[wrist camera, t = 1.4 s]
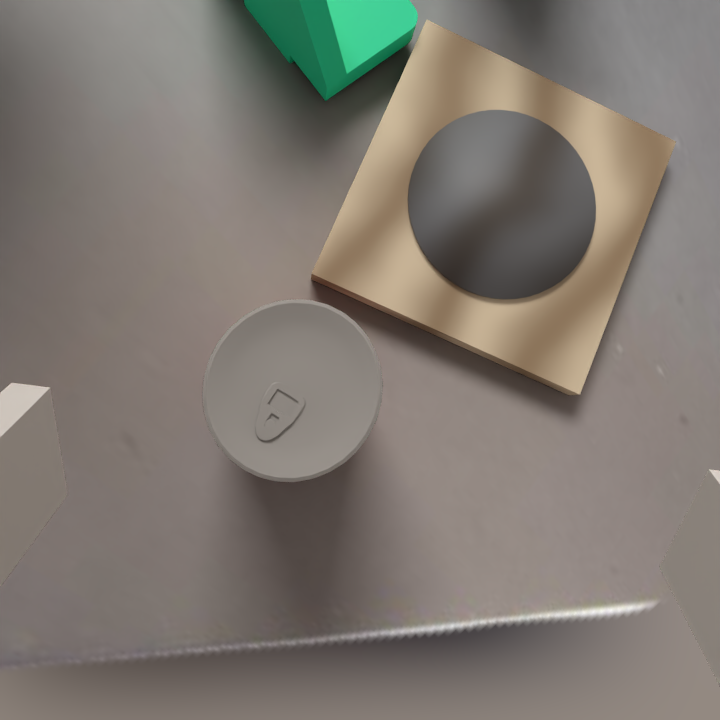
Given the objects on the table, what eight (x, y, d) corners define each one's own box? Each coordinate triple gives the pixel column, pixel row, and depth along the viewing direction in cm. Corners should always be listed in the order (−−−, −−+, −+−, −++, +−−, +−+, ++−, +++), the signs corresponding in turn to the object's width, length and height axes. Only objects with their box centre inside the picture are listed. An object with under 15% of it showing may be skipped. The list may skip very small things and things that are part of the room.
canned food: (213, 442, 35) (175, 456, 24) (252, 315, 36) (234, 273, 25) (336, 476, 35) (354, 506, 24) (372, 351, 36) (405, 325, 25)
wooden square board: (310, 279, 36) (311, 272, 34) (421, 34, 38) (427, 16, 37) (568, 395, 37) (582, 394, 36) (661, 151, 40) (679, 139, 38)
